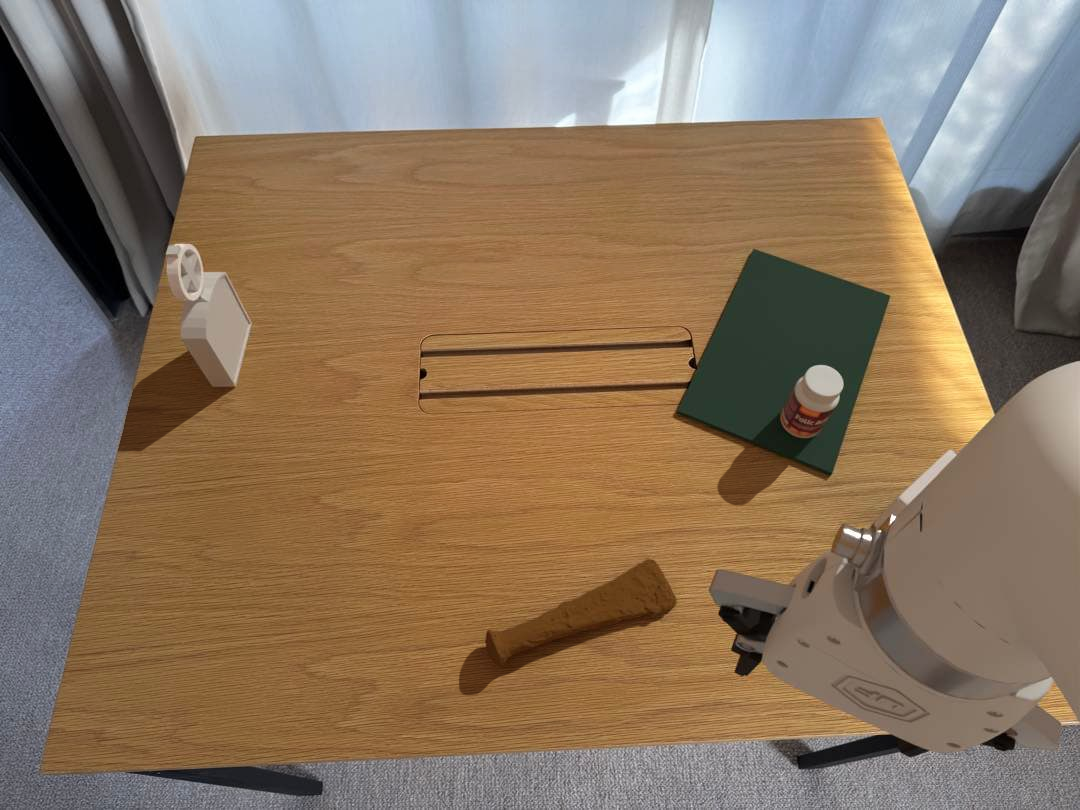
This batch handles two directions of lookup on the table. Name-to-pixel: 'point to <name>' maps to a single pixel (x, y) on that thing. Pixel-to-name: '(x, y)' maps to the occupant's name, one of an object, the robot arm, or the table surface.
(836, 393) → the pill bottle
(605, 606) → the primitive tool
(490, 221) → the table surface
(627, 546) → the table surface
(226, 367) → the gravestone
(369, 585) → the table surface
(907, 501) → the ink box
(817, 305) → the mat
